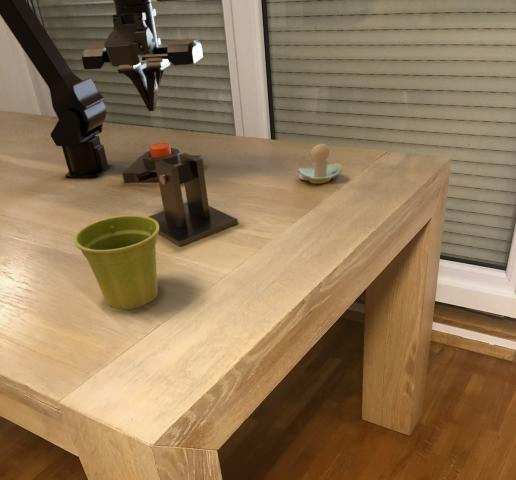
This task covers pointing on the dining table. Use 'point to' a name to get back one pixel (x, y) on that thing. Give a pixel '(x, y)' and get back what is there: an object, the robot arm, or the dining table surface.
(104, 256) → the plant pot
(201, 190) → the dark brown stand
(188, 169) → the dark t-shaped lever
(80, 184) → the dining table surface
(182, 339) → the dining table surface
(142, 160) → the block
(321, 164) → the pacifier
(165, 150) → the button
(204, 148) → the dining table surface
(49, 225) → the dining table surface
